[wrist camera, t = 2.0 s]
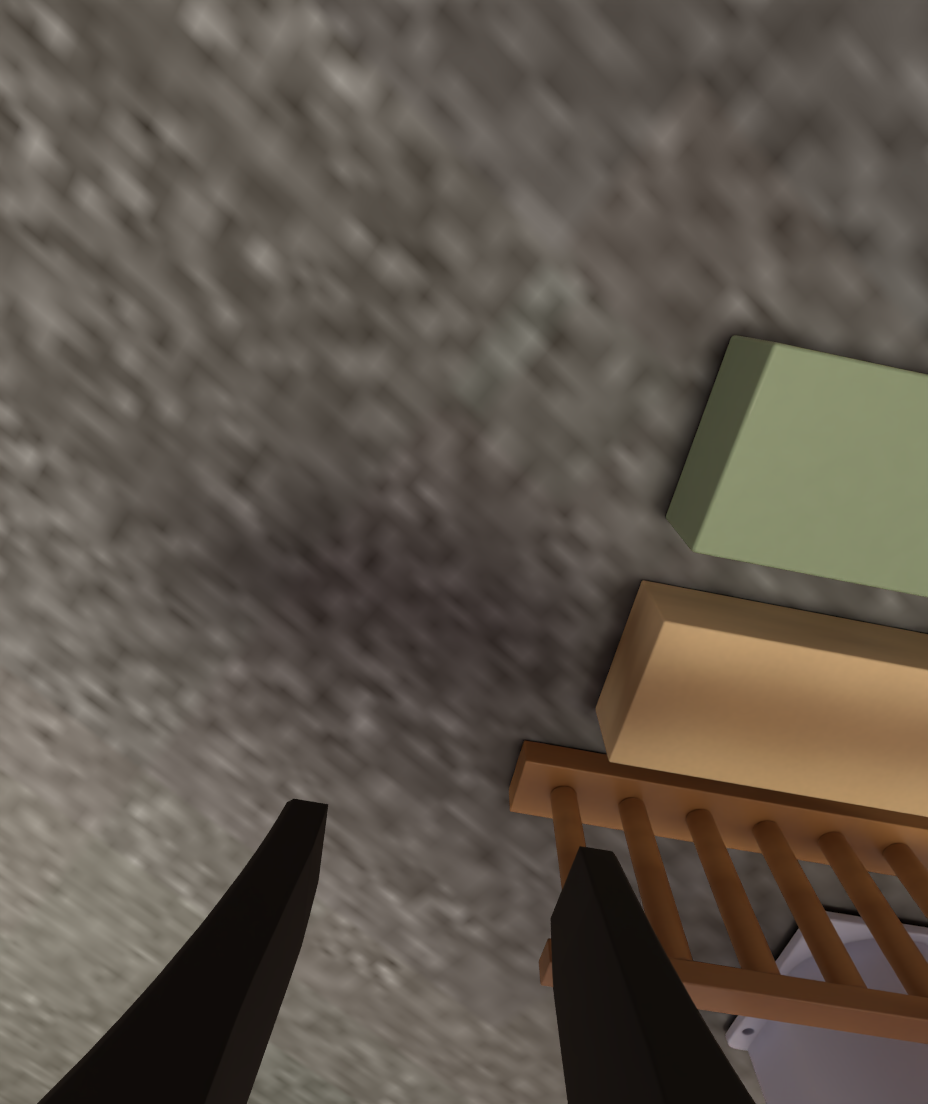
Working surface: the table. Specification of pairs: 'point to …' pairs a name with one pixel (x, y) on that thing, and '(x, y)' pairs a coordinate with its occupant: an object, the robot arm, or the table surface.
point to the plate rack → (751, 825)
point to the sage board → (811, 467)
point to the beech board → (770, 699)
